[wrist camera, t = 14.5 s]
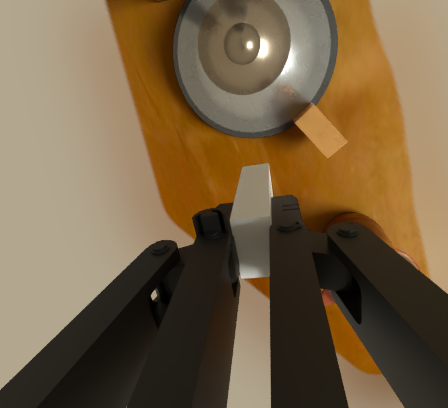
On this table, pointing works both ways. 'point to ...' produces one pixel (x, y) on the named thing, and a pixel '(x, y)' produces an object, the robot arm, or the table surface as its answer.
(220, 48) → the cover
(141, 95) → the table surface
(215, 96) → the turntable
